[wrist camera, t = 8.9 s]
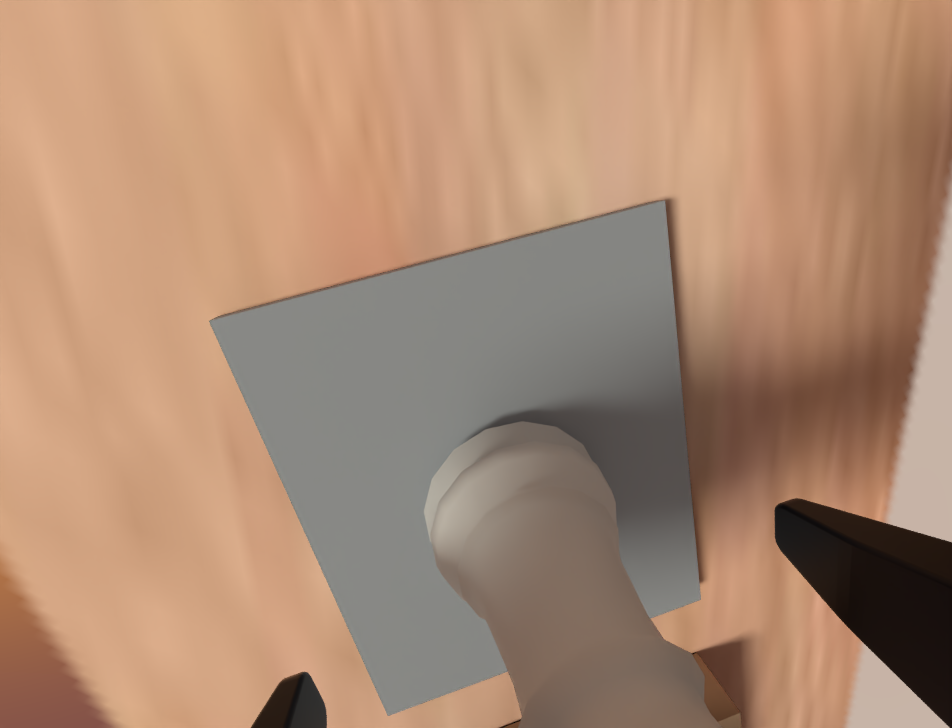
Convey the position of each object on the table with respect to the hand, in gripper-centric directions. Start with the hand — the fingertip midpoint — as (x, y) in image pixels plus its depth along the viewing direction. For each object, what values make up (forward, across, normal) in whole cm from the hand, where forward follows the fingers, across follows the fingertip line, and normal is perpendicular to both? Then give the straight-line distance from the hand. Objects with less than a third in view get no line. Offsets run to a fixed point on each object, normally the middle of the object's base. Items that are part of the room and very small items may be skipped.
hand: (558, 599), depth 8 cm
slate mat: (+4, 0, 0) cm, 4 cm away
